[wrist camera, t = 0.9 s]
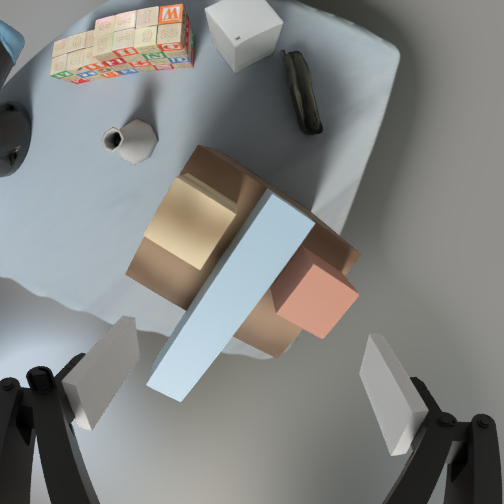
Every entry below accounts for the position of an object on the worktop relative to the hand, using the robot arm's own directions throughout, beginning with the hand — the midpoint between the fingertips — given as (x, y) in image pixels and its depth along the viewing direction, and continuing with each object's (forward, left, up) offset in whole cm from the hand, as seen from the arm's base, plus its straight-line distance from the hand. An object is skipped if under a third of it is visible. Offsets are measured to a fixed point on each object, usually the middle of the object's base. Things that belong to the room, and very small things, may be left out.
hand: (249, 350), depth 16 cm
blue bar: (+3, -3, -13) cm, 13 cm away
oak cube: (-6, -3, -13) cm, 14 cm away
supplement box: (-28, +4, -35) cm, 45 cm away
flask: (-15, -15, -35) cm, 41 cm away
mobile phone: (-19, +12, -35) cm, 42 cm away
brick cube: (+2, +6, -13) cm, 14 cm away
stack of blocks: (-30, -14, -35) cm, 49 cm away
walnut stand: (0, 0, -35) cm, 35 cm away
